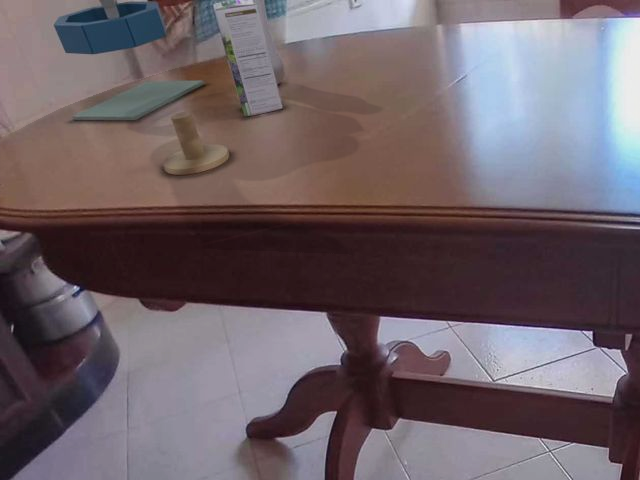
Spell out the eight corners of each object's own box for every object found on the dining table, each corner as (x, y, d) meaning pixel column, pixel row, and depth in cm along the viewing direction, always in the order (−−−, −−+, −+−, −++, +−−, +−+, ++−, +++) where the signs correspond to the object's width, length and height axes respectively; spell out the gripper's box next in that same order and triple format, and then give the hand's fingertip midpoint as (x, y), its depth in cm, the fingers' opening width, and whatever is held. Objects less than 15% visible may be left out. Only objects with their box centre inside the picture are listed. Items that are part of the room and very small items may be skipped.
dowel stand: (164, 180, 85) (145, 131, 81) (165, 159, 91) (147, 112, 87) (231, 165, 87) (215, 117, 83) (227, 145, 93) (212, 99, 89)
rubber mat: (135, 120, 106) (133, 116, 106) (73, 120, 110) (71, 116, 109) (204, 83, 120) (203, 80, 119) (147, 84, 123) (146, 81, 123)
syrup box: (241, 107, 106) (209, 3, 98) (279, 99, 108) (252, -4, 99) (245, 117, 102) (212, 9, 93) (285, 109, 103) (256, 1, 95)
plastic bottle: (294, 79, 117) (259, -59, 105) (277, 91, 111) (239, -52, 99) (258, 80, 118) (220, -55, 106) (240, 93, 113) (198, -48, 101)
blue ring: (62, 59, 102) (49, 30, 100) (72, 38, 113) (61, 12, 111) (166, 42, 105) (156, 13, 103) (166, 23, 116) (157, -3, 114)
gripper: (62, -85, 112) (99, 9, 120) (44, -76, 96) (88, 31, 104) (104, -90, 113) (138, 3, 121) (92, -83, 97) (132, 24, 106)
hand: (115, 16), depth 113 cm, fingers closed on blue ring, 2 cm apart
